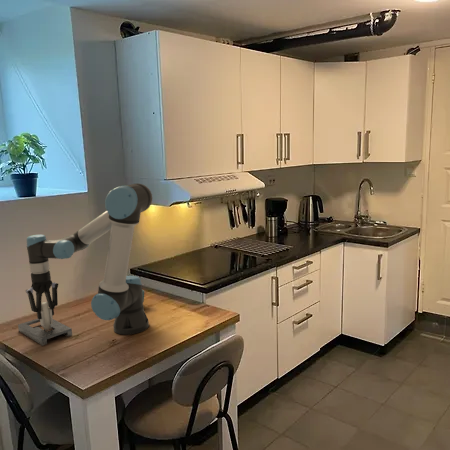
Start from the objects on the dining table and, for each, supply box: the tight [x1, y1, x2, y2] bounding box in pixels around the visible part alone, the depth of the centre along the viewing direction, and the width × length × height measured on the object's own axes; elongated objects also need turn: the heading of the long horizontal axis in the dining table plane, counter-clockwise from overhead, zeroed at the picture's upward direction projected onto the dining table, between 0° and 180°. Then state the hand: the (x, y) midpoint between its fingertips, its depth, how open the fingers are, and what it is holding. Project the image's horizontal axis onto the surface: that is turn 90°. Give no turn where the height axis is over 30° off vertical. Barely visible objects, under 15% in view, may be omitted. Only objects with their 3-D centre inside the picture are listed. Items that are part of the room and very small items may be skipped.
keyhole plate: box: [17, 318, 73, 347], centre depth 194 cm, size 24×13×3 cm, turn 46°
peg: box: [41, 301, 53, 332], centre depth 191 cm, size 6×6×14 cm
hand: (46, 324), depth 192 cm, fingers closed on peg, 3 cm apart
